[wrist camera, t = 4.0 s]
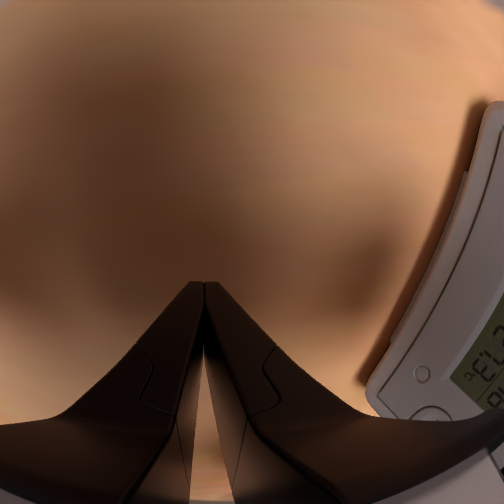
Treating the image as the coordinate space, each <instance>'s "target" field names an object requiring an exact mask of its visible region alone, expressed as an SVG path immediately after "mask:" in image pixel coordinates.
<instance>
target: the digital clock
mask: <svg viewBox="0 0 504 504" xmlns="http://www.w3.org/2000/svg"><path fill="white" fill-rule="evenodd" d="M389 341H390V342H391V345H390V346H389V348H388V350H387V351H386V353H385V355H384V356H383V358H382V359H381V361H380V362H379V364H378V365H377V367H376V368H375V370H374V371H373V373H372V374H371V376H370V378H369V380H368V382H367V385H366V391H365V395H366V399H367V401H368V402H369V404H370V405H371V407H372V408H373V409H374V410H375V411H376V413H377V414H378V415H379V416H380V417H383V418H394V419H407V420H425V421H456V420H464V419H468V418H472V417H475V416H477V415H479V414H481V413H483V412H484V411H486V410H488V409H492V408H500V409H504V102H503V101H496V102H493V103H491V104H490V105H489V106H488V107H487V108H486V110H485V112H484V114H483V118H482V121H481V125H480V130H479V134H478V138H477V142H476V146H475V150H474V154H473V157H472V161H471V165H470V168H469V171H468V172H467V171H464V174H463V177H462V180H461V183H460V187H459V190H458V193H457V196H456V198H455V201H454V204H453V207H452V210H451V212H450V215H449V218H448V220H447V223H446V226H445V228H444V231H443V233H442V236H441V238H440V240H439V243H438V245H437V248H436V250H435V252H434V254H433V257H432V259H431V261H430V263H429V266H428V268H427V270H426V272H425V274H424V276H423V278H422V280H421V282H420V285H419V287H418V289H417V291H416V293H415V294H414V296H413V298H412V300H411V302H410V304H409V306H408V308H407V310H406V312H405V313H404V315H403V317H402V319H401V321H400V322H399V324H398V326H397V328H396V329H395V331H394V333H393V335H392V336H391V338H390V340H389ZM491 454H492V456H493V457H494V459H495V461H496V463H497V464H498V466H499V468H500V469H501V468H503V467H504V442H503V443H502V444H501V445H500V446H499V447H498V448H497V449H496V450H495V451H493V452H492V453H491Z"/></svg>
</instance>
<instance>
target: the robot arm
mask: <svg viewBox="0 0 504 504" xmlns="http://www.w3.org/2000/svg"><path fill="white" fill-rule="evenodd" d="M203 345H204V359H205V366H206V371H207V377H208V383H209V388H210V394H211V399H212V404H213V409H214V414H215V419H216V424H217V429H218V434H219V438H220V443H221V447H222V452H223V456H224V461H225V465H226V469H227V473H228V478H229V482H230V486H231V489H232V494H233V498H234V501H235V504H504V467H503V468H501V469H500V468H499V466H498V464H497V463H496V461H495V459H494V457H493V456H492V454H491V453H492V452H493V451H495V450H496V449H497V448H498V447H499V446H500V445H501V444H502V443H503V442H504V409H500V408H492V409H488V410H486V411H484V412H483V413H481V414H479V415H477V416H475V417H472V418H468V419H464V420H456V421H425V420H407V419H394V418H383V417H375V416H370V415H367V414H364V413H362V412H359V411H358V410H356V409H354V408H352V407H351V406H349V405H348V404H347V403H345V402H344V401H343V400H341V399H340V398H339V397H337V396H336V395H335V394H333V393H332V392H331V391H329V390H328V389H327V388H325V387H324V386H323V385H321V384H320V383H319V382H318V381H316V380H315V379H314V378H312V377H311V376H310V375H309V374H308V373H306V372H305V371H304V370H303V369H302V368H300V367H299V366H298V365H297V364H296V363H295V362H294V361H293V360H292V359H291V358H290V357H289V356H288V355H287V354H286V353H285V352H284V351H283V350H282V349H281V348H280V347H279V346H277V344H276V343H275V342H274V341H273V340H272V339H271V338H270V337H269V336H268V335H267V334H266V333H265V332H264V331H263V330H262V329H261V328H260V326H259V325H258V324H257V323H256V322H255V321H254V320H253V319H252V318H251V317H250V316H249V315H248V314H247V313H246V312H245V310H244V309H243V308H242V307H241V306H240V305H239V304H238V303H237V302H236V301H235V300H234V299H233V297H232V296H231V295H230V294H229V293H228V292H227V291H226V290H225V289H224V288H223V287H222V285H221V284H220V283H219V282H205V283H203V282H202V281H189V282H188V283H187V284H186V286H185V287H184V288H183V289H182V290H181V291H180V292H179V294H178V295H177V296H176V297H175V298H174V299H173V300H172V302H171V303H170V304H169V305H168V306H167V307H166V308H165V310H164V311H163V312H162V313H161V314H160V315H159V316H158V318H157V319H156V320H155V321H154V322H153V323H152V325H151V326H150V327H149V328H148V329H147V330H146V331H145V333H144V334H143V335H142V336H141V337H140V338H139V340H138V341H137V342H136V344H134V345H133V346H132V348H131V349H130V350H129V351H128V352H127V353H126V355H125V356H124V357H123V358H122V359H121V360H120V361H119V362H118V363H117V364H116V365H115V366H114V367H113V368H112V369H111V370H110V371H109V372H108V373H107V374H106V375H105V376H104V377H103V378H102V379H101V380H99V381H98V382H97V383H96V384H95V385H94V386H93V387H92V388H91V389H89V390H88V391H87V392H86V393H85V394H84V395H83V396H82V397H81V398H80V399H78V400H77V401H76V402H75V403H74V404H73V405H72V406H71V407H69V408H68V409H67V410H65V411H64V412H62V413H61V414H59V415H57V416H55V417H52V418H48V419H43V420H36V421H29V422H22V423H14V424H5V425H0V504H189V497H190V483H191V471H192V459H193V448H194V437H195V427H196V417H197V407H198V398H199V389H200V380H201V372H202V363H203Z"/></svg>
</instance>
